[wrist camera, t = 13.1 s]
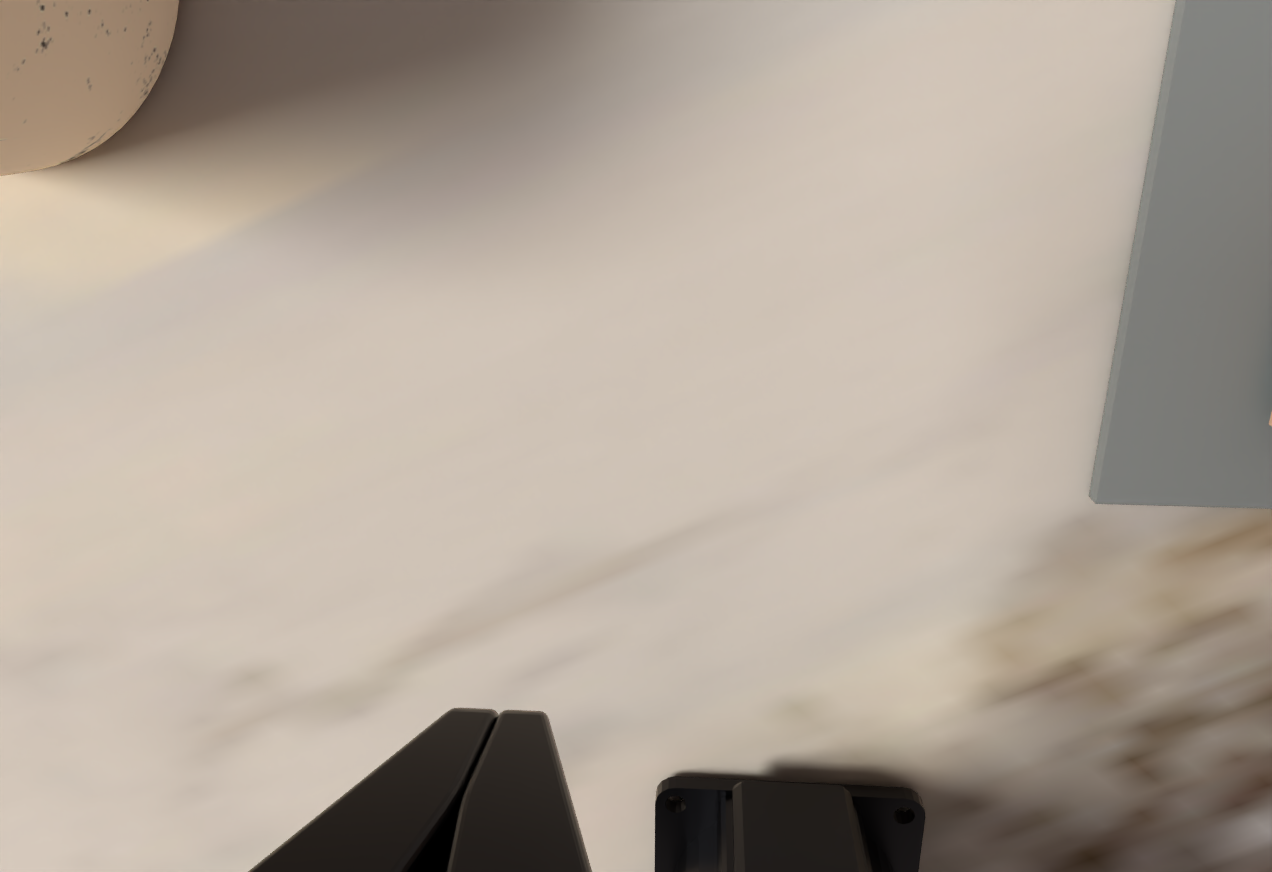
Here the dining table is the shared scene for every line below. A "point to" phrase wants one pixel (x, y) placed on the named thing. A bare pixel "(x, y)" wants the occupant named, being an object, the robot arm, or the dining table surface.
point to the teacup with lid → (75, 74)
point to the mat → (1199, 279)
